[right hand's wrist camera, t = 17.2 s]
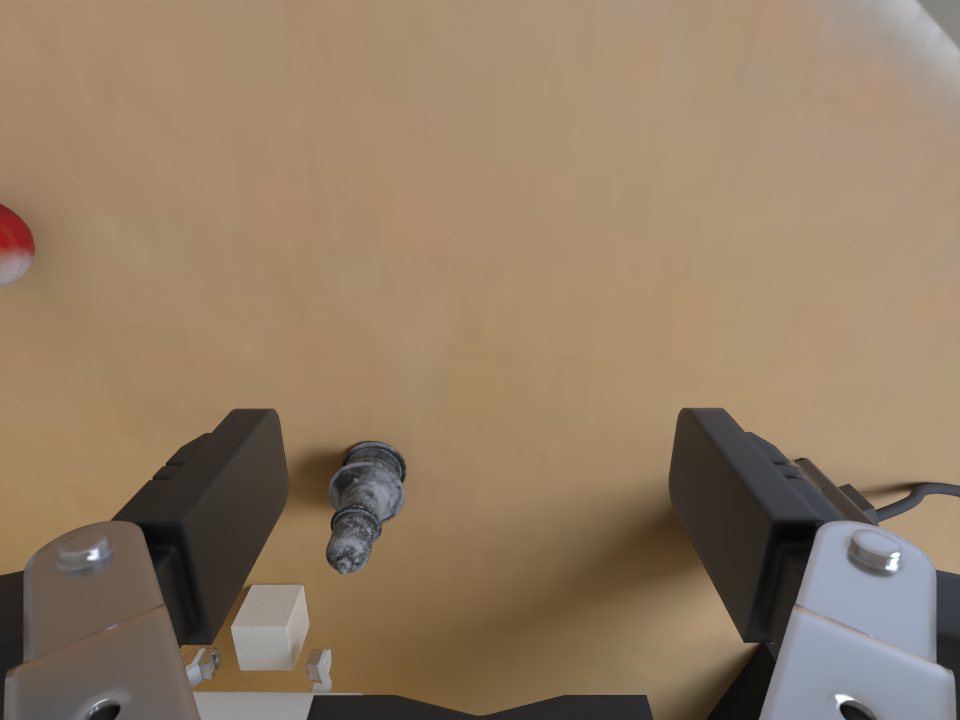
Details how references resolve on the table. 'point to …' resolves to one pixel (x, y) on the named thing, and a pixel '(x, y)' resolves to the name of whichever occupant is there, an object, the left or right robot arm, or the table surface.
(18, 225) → the eyeball
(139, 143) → the table surface
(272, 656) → the white cube
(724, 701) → the cardboard box
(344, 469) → the grey tall turned piece
